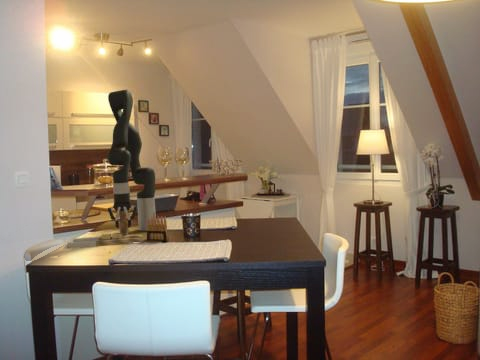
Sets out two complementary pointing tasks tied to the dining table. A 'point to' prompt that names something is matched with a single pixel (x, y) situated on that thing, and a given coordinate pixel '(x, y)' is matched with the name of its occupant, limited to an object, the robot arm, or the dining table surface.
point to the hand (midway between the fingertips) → (123, 227)
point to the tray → (82, 242)
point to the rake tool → (123, 223)
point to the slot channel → (120, 240)
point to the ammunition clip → (157, 229)
